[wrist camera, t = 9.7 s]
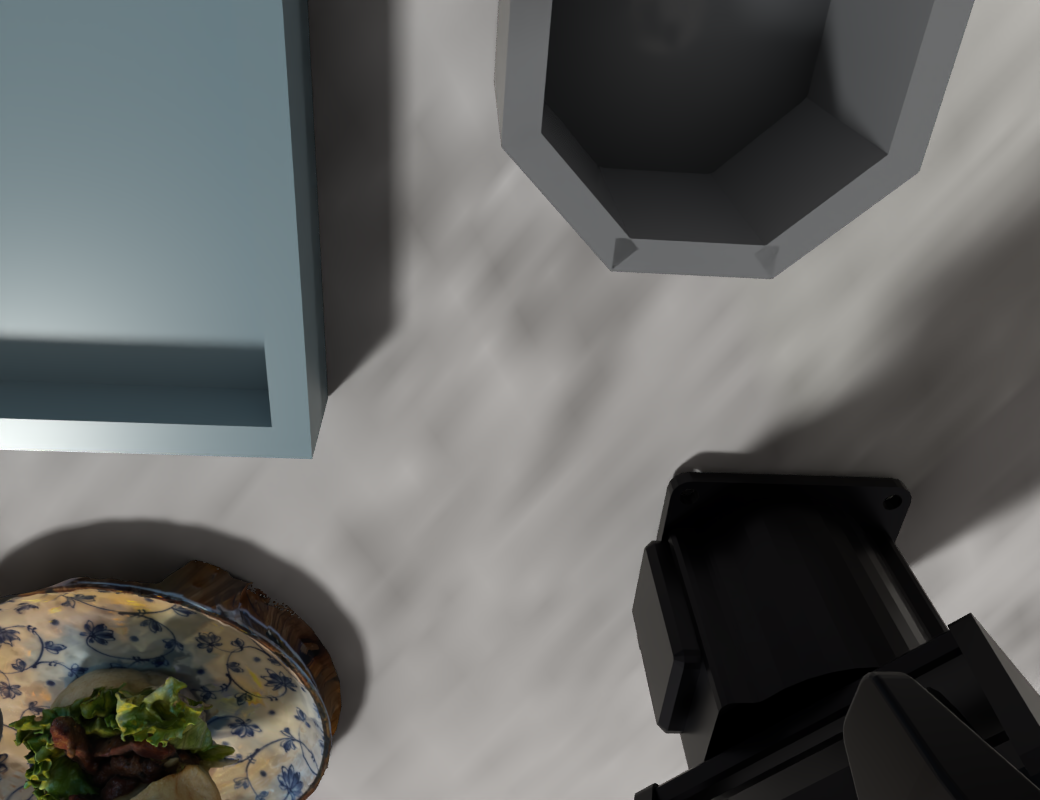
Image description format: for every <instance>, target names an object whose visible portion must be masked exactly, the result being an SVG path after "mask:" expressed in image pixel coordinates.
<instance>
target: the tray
mask: <svg viewBox="0 0 1040 800" xmlns="http://www.w3.org/2000/svg"><path fill="white" fill-rule="evenodd" d="M327 400H328V390H327V371H326V351H325V332H324V312H323V293H322V273H321V253H320V234H319V214H318V195H317V175H316V156H315V136H314V117H313V97H312V78H311V58H310V39H309V19H308V0H0V450H31V451H65V452H98V453H131V454H165V455H198V456H232V457H265V458H299V459H312V457H313V454H314V450H315V446H316V442H317V438H318V434H319V431H320V427H321V423H322V419H323V415H324V411H325V408H326V404H327Z"/></svg>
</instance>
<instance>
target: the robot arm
mask: <svg viewBox="0 0 1040 800" xmlns="http://www.w3.org/2000/svg"><path fill="white" fill-rule="evenodd" d="M688 489H694V492H692V493H690V494H688V495H682V494H681V493H682V492H683V491H685V490H688ZM891 495H894V496H893V497H892V498H890V499H889V500H885V499H886V498H887V497H889V496H891ZM910 503H911V495H910V492H909V491H908V489H907V488H906V486H905V485H904V484H903V483H902V482H901V481H900V480H898V479H894V478H870V477H837V476H803V475H769V474H736V473H702V472H687V473H681V474H679V475H677V476H675V477H674V478H673V479H672V480H671V481H670V482H669V485H668V487H667V492H666V496H665V501H664V506H663V511H662V516H661V521H660V525H659V530H658V535H657V540H656V541H651V542H650V543H649V544H648V545H647V546H646V547H645V549H644V554H643V559H642V564H641V569H640V574H639V579H638V584H637V589H636V594H635V599H634V604H633V609H632V612H633V617H634V622H635V627H636V631H637V639H638V644H639V648H640V650H641V654H642V659H643V663H644V668H645V672H646V677H647V682H648V686H649V691H650V695H651V700H652V704H653V709H654V714H655V718H656V723H657V725H658V726H659V727H660V728H661V729H662V730H663V731H664V732H665V733H680V735H681V740H682V744H683V748H684V752H685V756H686V760H687V764H688V768H689V770H687V771H685V772H683V773H681V774H680V775H678V776H676V777H674V778H672V779H670V780H668V781H666V782H665V783H663V784H661V785H658V784H656V783H654V784H652V785H650V786H648V787H646V788H645V789H643V790H641V791H639V792H637V793H635V797H634V800H1040V695H1039V694H1038V693H1037V692H1036V691H1035V689H1034V688H1033V687H1032V686H1031V685H1030V683H1029V682H1028V681H1027V680H1026V679H1025V677H1024V676H1023V675H1022V674H1021V672H1020V671H1019V670H1018V669H1017V668H1016V666H1015V665H1014V664H1013V663H1012V662H1011V660H1010V659H1009V658H1008V657H1007V656H1006V654H1005V653H1004V652H1003V651H1002V650H1001V648H1000V647H999V646H998V645H997V643H996V642H995V641H994V640H993V639H992V637H991V636H990V635H989V634H988V633H987V631H986V630H985V629H984V628H983V627H982V625H981V624H980V623H979V622H978V621H977V619H976V618H975V617H974V616H973V615H972V613H969V614H967V615H966V616H964V617H962V618H960V619H958V620H956V621H954V622H953V623H951V624H949V625H947V626H948V628H949V629H950V630H949V629H948V628H947V626H946V625H945V623H944V621H943V620H942V618H941V617H940V615H939V613H938V612H937V610H936V609H935V607H934V605H933V604H932V602H931V601H930V599H929V597H928V596H927V594H926V593H925V591H924V589H923V588H922V586H921V585H920V583H919V581H918V580H917V578H916V577H915V575H914V573H913V572H912V570H911V569H910V567H909V565H908V564H907V562H906V561H905V559H904V557H903V556H902V554H901V553H900V551H899V549H898V548H897V546H896V545H895V541H896V538H897V536H898V533H899V531H900V528H901V526H902V523H903V521H904V518H905V516H906V513H907V511H908V508H909V506H910ZM2 733H3V715H2V711H1V708H0V741H1V738H2Z"/></svg>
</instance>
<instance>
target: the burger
mask: <svg viewBox="0 0 1040 800" xmlns="http://www.w3.org/2000/svg"><path fill="white" fill-rule="evenodd" d="M195 561H196V562H195ZM217 568H219V567H216V566H214V565H211V564H209V563H204V562H203V561H197V560H192V561H190V562H189V563H187V564H186V565H185V566H184V567H182V568H181V569H179V570H177V571H176V572H174V573H173V574H171V575H169V576H168V577H167V578H166V579H164V580H163V581H162V582H161V583H157V584H154V583H139V582H133V581H127V582H126V581H121V580H117V579H110V578H108V579H93V578H89V577H78V578H71V579H68V580H65V581H63V582H60V583H58V584H55V585H53V586H50V587H46V588H43V589H39V590H36V591H33V592H29V593H22V594H14V595H8V596H5V597H1V598H0V708H1V711H2V715H3V733H2V738H1V741H0V800H306V799H307V798H308V797H309V796H310V795H311V794H312V793H313V792H314V791H315V790H316V788H317V786H318V784H319V782H320V780H321V778H322V776H323V775H324V772H325V770H326V769H327V768H328V762H329V756H330V752H331V747H332V737H333V735H334V733H335V731H336V729H337V724H338V720H339V715H340V711H341V695H340V682H339V679H338V676H337V673H336V671H335V668H334V665H333V663H332V660H331V657H330V655H329V653H328V652H327V650H326V649H325V647H324V646H323V644H322V643H321V641H320V640H319V639H318V637H317V636H316V635H315V633H314V631H313V630H312V629H311V628H310V627H309V626H308V625H307V624H306V623H305V622H304V621H303V620H302V619H301V618H298V617H299V616H298V615H297V614H296V613H295V614H294V611H293V610H292V609H290V608H289V607H287V605H286V606H285V607H287V608H284V606H282V605H279V606H278V604H279V603H277V605H274V606H270V605H268V604H269V602H270V600H271V598H269V597H268V598H267V595H266V594H264V593H263V591H261V589H256V588H254V589H256V591H255V592H256V594H255V593H254V592H251V591H250V589H249V590H247V589H248V588H247V587H248V586H249V584H251V583H247V582H244V581H241V580H239V579H234V578H232V577H231V576H230V575H229V573H228V572H227V571H225V570H222V569H221V568H219V569H217ZM251 587H252V585H251ZM253 591H254V590H253ZM260 594H262V596H260ZM264 595H265V597H266V598H264V597H263V596H264ZM265 602H266V603H265ZM273 603H275V601H274V602H273ZM282 604H284V603H282ZM275 606H278V607H279V608H278V607H277V608H275ZM280 609H284V610H280ZM287 610H289V611H287ZM291 611H292V612H291ZM291 614H294V615H291Z"/></svg>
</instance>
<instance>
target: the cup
mask: <svg viewBox="0 0 1040 800" xmlns="http://www.w3.org/2000/svg"><path fill="white" fill-rule="evenodd" d="M974 1H975V0H499V2H498V20H497V38H496V56H495V73H494V87H495V96H496V105H497V113H498V122H499V131H500V139H501V146H502V148H503V149H504V150H505V152H506V153H507V154H508V155H509V156H510V157H511V158H512V160H513V161H514V162H515V163H516V164H517V165H518V166H519V167H520V169H521V170H522V171H523V172H524V173H525V174H526V175H527V177H528V178H529V179H530V180H531V181H532V182H533V183H534V185H535V186H536V187H537V188H538V189H539V190H540V191H541V192H542V194H543V195H544V196H545V197H546V198H547V199H548V200H549V202H550V203H551V204H552V205H553V206H554V207H555V208H556V210H557V211H558V212H559V213H560V214H561V215H562V216H563V217H564V219H565V220H566V221H567V222H568V223H569V224H570V225H571V227H572V228H573V229H574V230H575V231H576V232H577V233H578V235H579V236H580V237H581V238H582V239H583V240H584V241H585V242H586V244H587V245H588V246H589V247H590V248H591V249H592V250H593V252H594V253H595V254H596V255H597V256H598V257H599V258H600V260H601V261H602V262H603V263H604V264H605V265H606V266H607V267H608V269H609V270H610V271H617V272H637V273H657V274H678V275H698V276H719V277H739V278H759V279H771V278H772V279H773V278H774V277H775V276H777V275H778V274H780V273H781V272H782V271H784V270H785V269H786V268H788V267H789V266H791V265H792V264H793V263H795V262H796V261H797V260H799V259H800V258H802V257H803V256H804V255H806V254H807V253H808V252H810V251H811V250H813V249H814V248H815V247H817V246H818V245H819V244H821V243H822V242H824V241H825V240H826V239H828V238H829V237H830V236H832V235H833V234H835V233H836V232H837V231H839V230H840V229H841V228H843V227H844V226H846V225H847V224H848V223H850V222H851V221H852V220H854V219H855V218H857V217H858V216H859V215H861V214H862V213H863V212H865V211H866V210H868V209H869V208H870V207H872V206H873V205H874V204H876V203H877V202H879V201H880V200H881V199H883V198H884V197H885V196H887V195H888V194H890V193H891V192H892V191H894V190H895V189H896V188H898V187H899V186H901V185H902V184H903V183H905V182H906V181H907V180H909V179H910V178H912V177H913V176H914V175H916V174H917V173H918V171H920V168H921V165H922V161H923V158H924V155H925V152H926V149H927V146H928V143H929V140H930V137H931V134H932V131H933V127H934V124H935V121H936V118H937V115H938V112H939V109H940V106H941V103H942V100H943V96H944V93H945V90H946V87H947V84H948V81H949V78H950V75H951V72H952V69H953V66H954V62H955V59H956V56H957V53H958V50H959V47H960V44H961V41H962V38H963V35H964V32H965V28H966V25H967V22H968V19H969V16H970V13H971V10H972V7H973V4H974Z"/></svg>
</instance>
